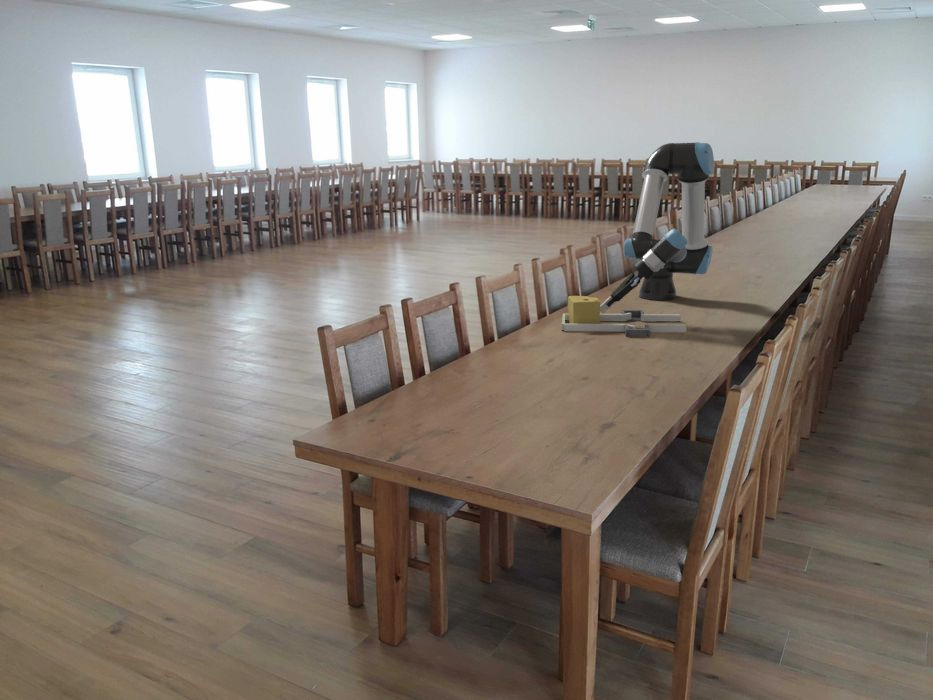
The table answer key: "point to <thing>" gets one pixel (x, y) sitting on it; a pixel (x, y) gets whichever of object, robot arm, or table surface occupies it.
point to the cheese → (583, 310)
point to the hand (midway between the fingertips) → (600, 310)
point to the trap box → (629, 329)
